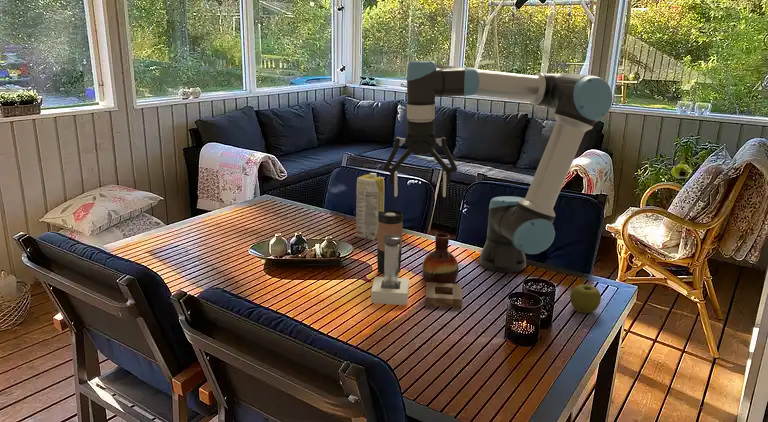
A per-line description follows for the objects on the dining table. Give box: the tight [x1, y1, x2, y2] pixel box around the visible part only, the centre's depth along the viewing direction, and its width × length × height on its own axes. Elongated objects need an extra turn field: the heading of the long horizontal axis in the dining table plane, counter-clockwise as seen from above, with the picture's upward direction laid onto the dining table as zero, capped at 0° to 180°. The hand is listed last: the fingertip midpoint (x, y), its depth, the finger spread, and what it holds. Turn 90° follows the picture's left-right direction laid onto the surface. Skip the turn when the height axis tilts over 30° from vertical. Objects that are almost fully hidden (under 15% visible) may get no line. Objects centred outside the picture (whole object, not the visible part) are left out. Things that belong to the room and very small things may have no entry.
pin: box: [383, 235, 401, 289], centre depth 157 cm, size 5×5×17 cm
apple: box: [569, 284, 602, 314], centre depth 155 cm, size 8×8×7 cm
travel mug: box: [376, 209, 404, 275], centre depth 175 cm, size 8×8×20 cm
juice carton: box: [355, 172, 385, 241], centre depth 207 cm, size 9×8×24 cm
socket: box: [370, 276, 410, 306], centre depth 160 cm, size 10×10×4 cm
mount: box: [424, 281, 463, 309], centre depth 159 cm, size 10×10×4 cm
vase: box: [421, 232, 460, 284], centre depth 170 cm, size 11×11×15 cm
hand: (420, 195), depth 158 cm, fingers open, 13 cm apart
